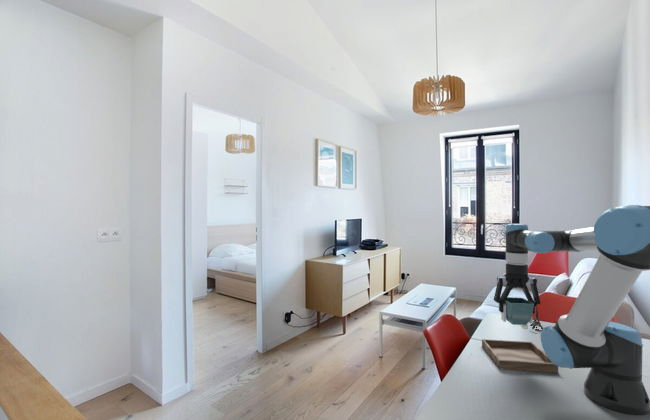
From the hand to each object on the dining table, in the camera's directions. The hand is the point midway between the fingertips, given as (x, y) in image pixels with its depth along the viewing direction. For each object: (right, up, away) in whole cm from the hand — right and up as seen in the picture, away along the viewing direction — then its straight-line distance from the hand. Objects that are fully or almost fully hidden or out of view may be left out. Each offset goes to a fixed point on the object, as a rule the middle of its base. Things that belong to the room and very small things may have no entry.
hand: (516, 321), depth 127 cm
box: (0, -15, 0) cm, 15 cm away
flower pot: (0, -1, 0) cm, 1 cm away
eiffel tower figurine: (+29, -15, +32) cm, 46 cm away
